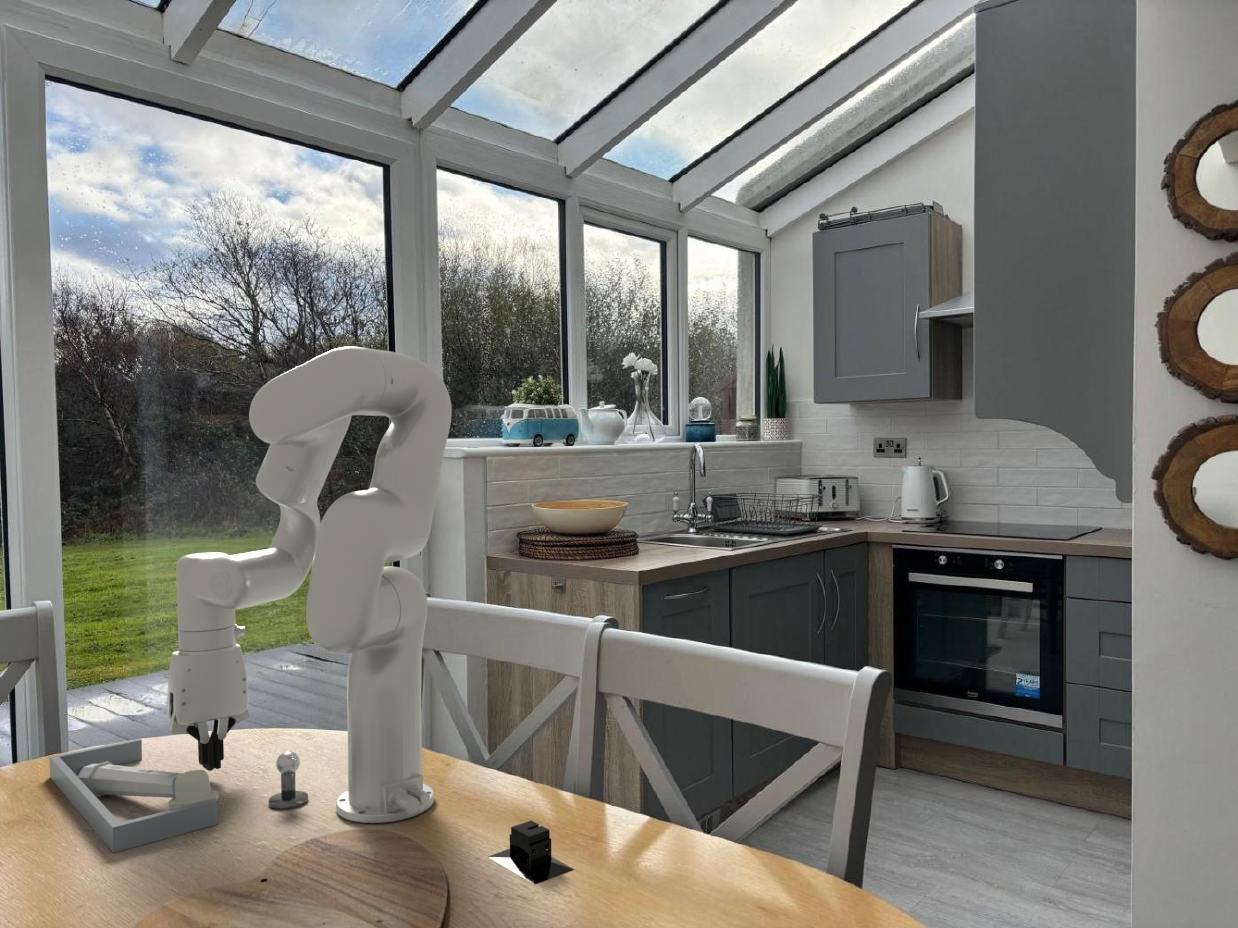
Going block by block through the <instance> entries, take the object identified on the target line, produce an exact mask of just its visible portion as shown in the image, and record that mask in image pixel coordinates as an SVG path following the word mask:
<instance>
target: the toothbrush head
mask: <svg viewBox="0 0 1238 928" xmlns="http://www.w3.org/2000/svg"><path fill="white" fill-rule="evenodd" d="M75 775H76V776H77V777H78V778H79V779H80V780H81V781H82V782H83V783H84V784H85V785H86V787H87V788H88V789H89V790H90V791H91V792H92V793H93V794H94V795H95V796H96V797H97V798H100V797H102V796H119V797H121V796H123V797H124V796H127V797H147V798H149V797H150V798H168V799H169V798H171V799H170V800H168V807H169V808H170V810H172V809H176V808H180V807H184V806H188V805H192V804H196V803H200V802H203V801H207V800H211V799H216V800H218V799H219V798H220V795H219V794H220V793H219V791H217V790H215V789H214V790H213V789H212V787H211V782H210V776H209V775H208V773H207V771H206V770H204V769H195V770H189V771H185V772H183V773H182V772H181V773H180V772H172V771H165V770H157V769H150V768H140V767H132V766H125V765H113V764H112V763H110V762H109V761H107V762H104V763H100V764H89V765H86V766H83V767H81V768H80V769H79V771H78V772H77V774H75Z"/></svg>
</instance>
